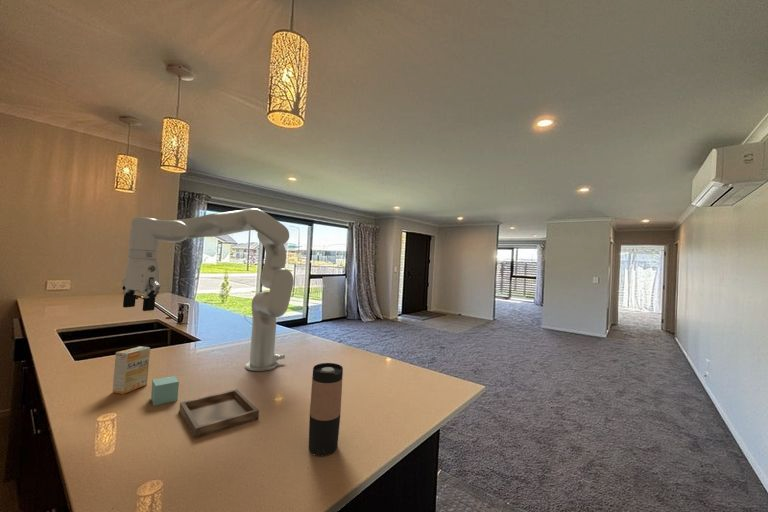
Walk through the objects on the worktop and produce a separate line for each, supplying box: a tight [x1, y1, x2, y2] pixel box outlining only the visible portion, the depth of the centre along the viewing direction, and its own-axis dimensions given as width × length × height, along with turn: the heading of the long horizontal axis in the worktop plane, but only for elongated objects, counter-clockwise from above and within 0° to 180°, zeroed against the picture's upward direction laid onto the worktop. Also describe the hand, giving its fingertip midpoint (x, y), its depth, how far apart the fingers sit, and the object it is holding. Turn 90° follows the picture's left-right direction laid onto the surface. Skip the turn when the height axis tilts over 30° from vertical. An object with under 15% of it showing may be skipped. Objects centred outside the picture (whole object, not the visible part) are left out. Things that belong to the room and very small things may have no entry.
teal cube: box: [150, 375, 180, 407], centre depth 98 cm, size 6×6×6 cm
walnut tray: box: [179, 389, 260, 439], centre depth 90 cm, size 16×18×2 cm
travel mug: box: [308, 362, 344, 457], centre depth 78 cm, size 8×8×20 cm
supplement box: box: [112, 346, 151, 395], centre depth 104 cm, size 8×5×13 cm, turn 168°
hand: (138, 308), depth 100 cm, fingers open, 9 cm apart
